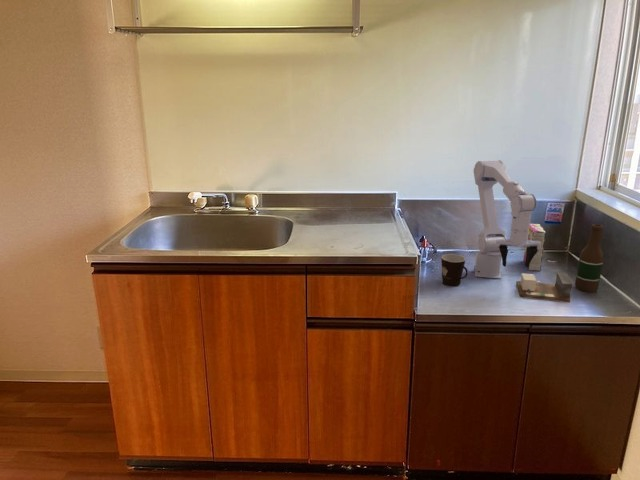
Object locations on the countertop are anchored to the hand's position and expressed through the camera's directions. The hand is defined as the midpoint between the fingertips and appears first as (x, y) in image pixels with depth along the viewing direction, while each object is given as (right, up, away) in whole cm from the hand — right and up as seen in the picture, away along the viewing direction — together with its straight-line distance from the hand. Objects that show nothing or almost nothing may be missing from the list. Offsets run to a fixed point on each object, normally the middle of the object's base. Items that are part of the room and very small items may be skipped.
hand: (515, 266), depth 172 cm
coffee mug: (-20, -8, +8) cm, 23 cm away
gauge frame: (+10, -10, +2) cm, 14 cm away
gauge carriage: (+6, -8, +1) cm, 10 cm away
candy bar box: (+17, -2, +26) cm, 31 cm away
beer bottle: (+28, -9, +5) cm, 29 cm away
